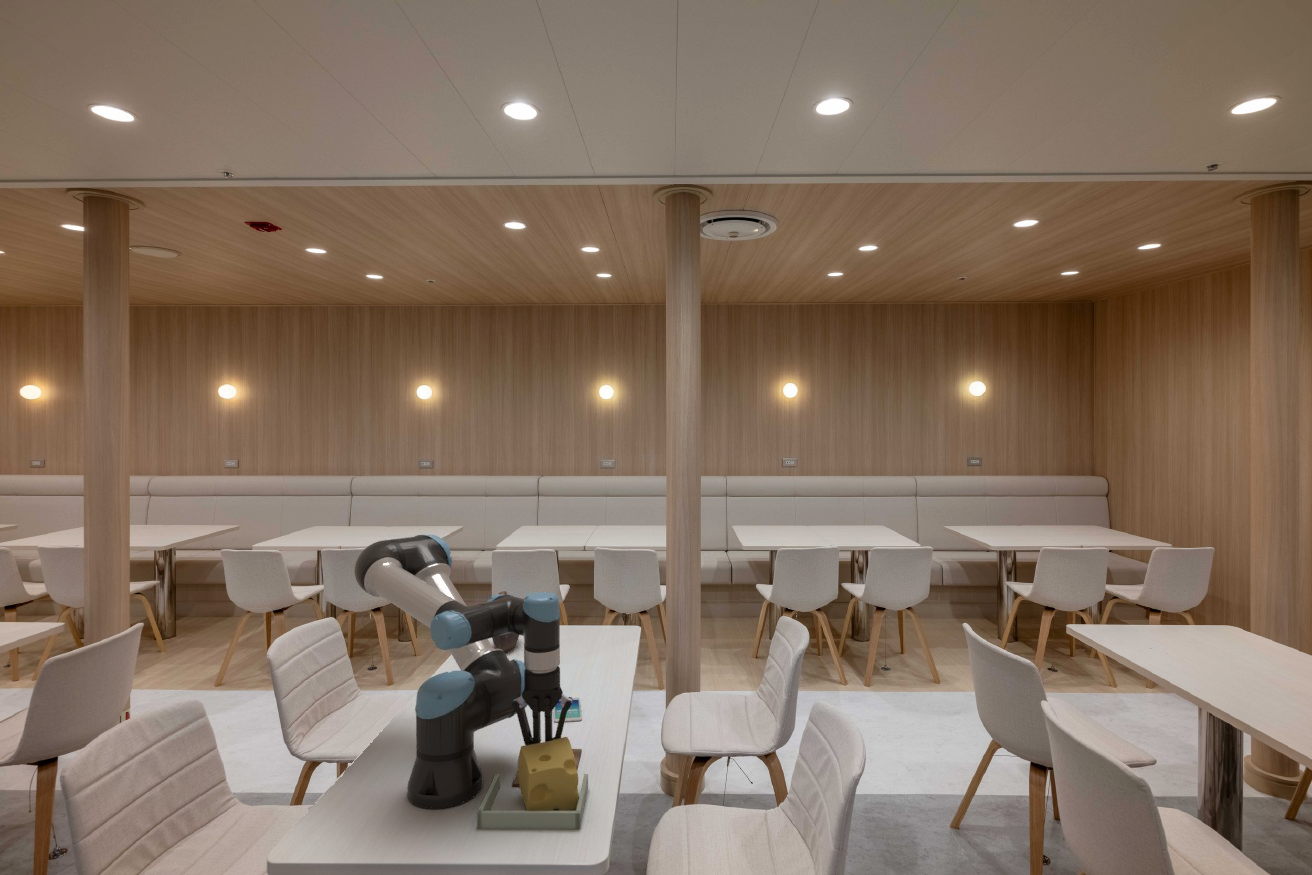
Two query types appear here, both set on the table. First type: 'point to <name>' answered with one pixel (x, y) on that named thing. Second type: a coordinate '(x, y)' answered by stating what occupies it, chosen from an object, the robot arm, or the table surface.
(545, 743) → the cheese
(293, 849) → the table surface
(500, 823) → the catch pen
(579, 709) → the smartphone
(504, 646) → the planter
